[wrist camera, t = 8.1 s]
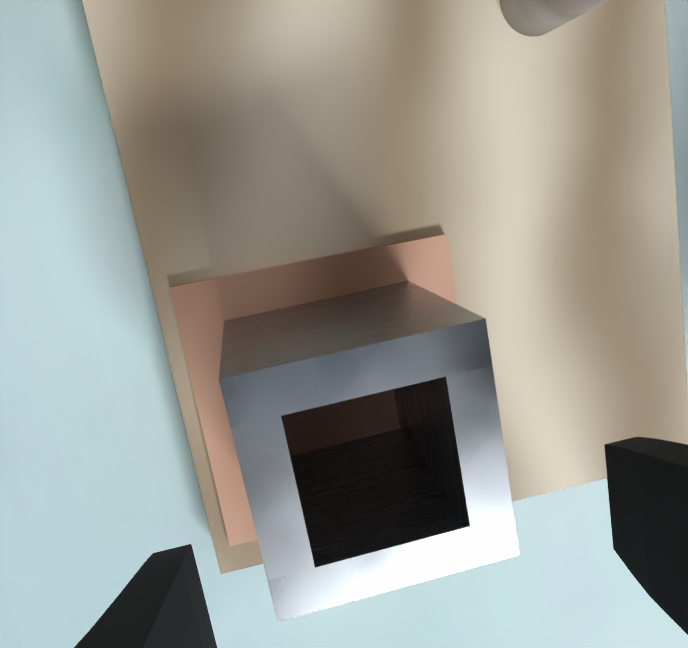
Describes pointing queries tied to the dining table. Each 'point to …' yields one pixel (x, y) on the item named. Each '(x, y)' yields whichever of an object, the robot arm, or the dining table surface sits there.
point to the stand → (410, 205)
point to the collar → (369, 445)
